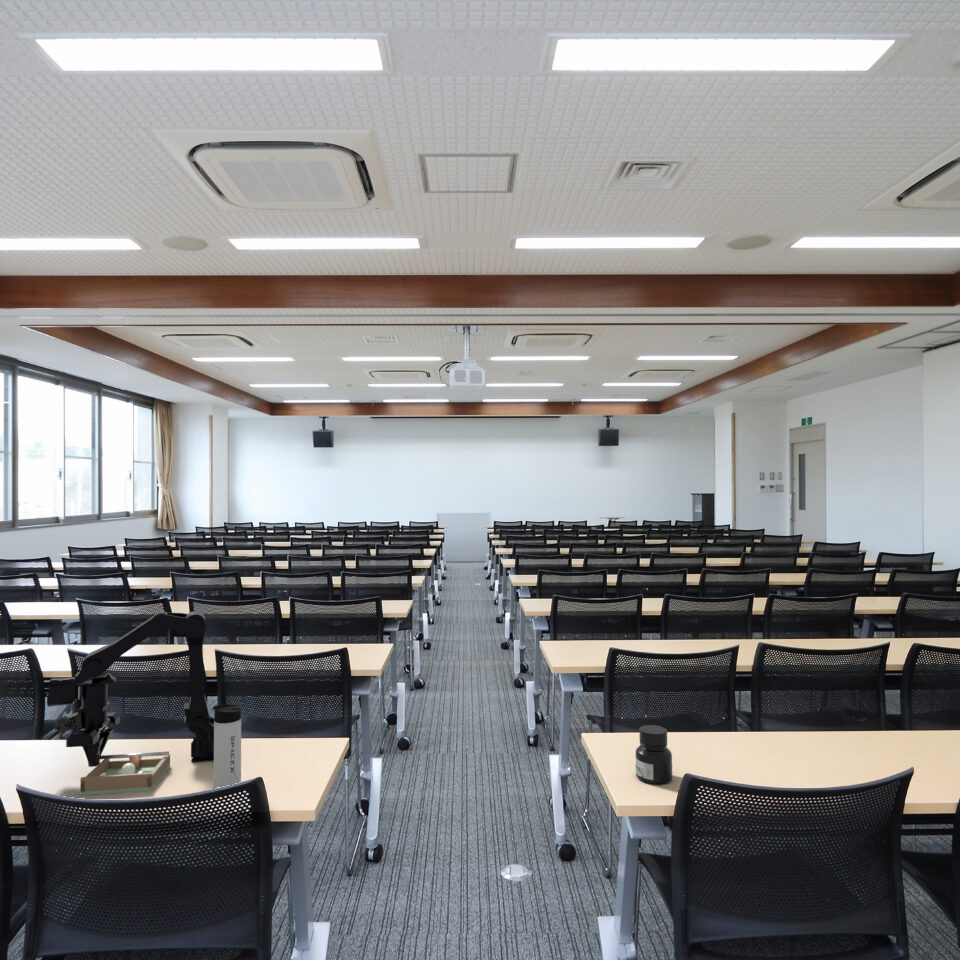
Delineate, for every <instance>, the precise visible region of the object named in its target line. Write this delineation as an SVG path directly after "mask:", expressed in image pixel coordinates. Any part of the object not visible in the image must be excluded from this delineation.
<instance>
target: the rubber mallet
mask: <svg viewBox="0 0 960 960" xmlns="http://www.w3.org/2000/svg"><path fill="white" fill-rule="evenodd" d="M169 754H170V751H156V752H152V751H151V752H138V753H122V754H120V753H119V754H106V755H105V754H104V755H102V754H101V756H100V750H99V753H98V755H97V758H96V761H95V763H94V765H89V763H88V762H87V764H88V766H87V767H89V768H93V767H94V768H95V767H96V766H97V765H99V764H100V763H101V760H104V759H110V760H112V759H113V760H114V759H127V758H128V760H129V763H132V764H134V766H135V768H140V767H141V759H142V758H143V757H159V756H160V757H161V756H165V755H169Z"/></svg>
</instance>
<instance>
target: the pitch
mask: <svg viewBox="0 0 960 960" xmlns="http://www.w3.org/2000/svg"><path fill="white" fill-rule="evenodd" d="M127 763H129V759H124V760H123V759H122V760H111V759H102V761H100V764H99V765H97V766H95V767H94V768H93V769H92V770H91V771H90V772H89V773H87V774H86V776H81V777H80V784H79V786H80V792H79V793H80V794H79V795H80V796H90V795H91V796H92V795H102V794H103V795H106V794H120V792H122V793H131V792H132V793H136V792H148V791H152V790H153V789H154V787H155V786H156V785H157V784H158V782H159V781H160V780H161V778H162V777H163V776H164V775H165V774H166V772H167V771H168V770H169V769H170V767H171V753H169V755H163V757H157V758H155V757H153V758H141V767H140V768H135V772H134V773H133V774H122V773H121V769H122V767H123V766H124V765H125V764H127ZM117 792H118V793H117Z"/></svg>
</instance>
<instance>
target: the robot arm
mask: <svg viewBox="0 0 960 960" xmlns="http://www.w3.org/2000/svg"><path fill="white" fill-rule="evenodd" d="M161 629H167V630H172V631H177V632H178V631H179V632H184V636H185V640H186V644H187V648H188V665H189V666H188V667H189V685H190V686H189V687H190V688H189V690H190V698H189V702H184V703H183V704H184V705H183V707H184V708H183V712H184V714H185V715H184V725H187V729H188V730H189V731H190V732H191V733H192V734H194V735H193V737H192V741H191V742H190V758H191V760H190V762H191V763H196V762H197V763H198V762H200V763H201V762H212V761H213V762H214V718H215V717H213V716H211V714H210V710H209V706H208V705H209V704H208V702H207V698H206V694H205V669H204V649H203V645H204V640H205V635H206V629H207V621H206V617H205V615H204V614H203V613H202V612H200V611H190V612H188V613H185V612H167V611H163V610H161V611H158V612H155V613H154V615H153V616H151V617H150V618H148V619H147V620H146V621H144V622H141V624H139V625H138V626H137V627H135V628H134V629H132V630H131V631H129V632H127V633H126V634H124V635H123V636H121V637H120V638H118V639H117V640H115V641H114V642H113V641H112V642H111V643H109V644H107V645H103V646H102V647H100V648H97V649H95V650H93V651H92V652H91V651H90V653H88V654H87V655H86V656H85V657H84V659H83V661H82V662H81V666H80V667H81V669H80V670H79V671H77V672H76V674H75V676H73V677H63V678H62V677H61V678H58V677H54V678H51V679H50V680H49V681H48V682H49V686H48V689H47V690H48V691H47V694H46V704H47V707H50V708H52V707H59V706H69V705H74V704H75V702H76V701H77V700H80V697H81V707H80V708H78V710H77V712H74V713H72V714H70V715H63V717H59V718H57V719H56V722H55V727H54V730H55V731H57V732H59V734H60V735H63V734H65V733H66V732H68V731H71V730H74V729H76V730H75V731H74V732H72V733H71V734H69V736H68V737H66V739H65V747H67V748H74V747H75V748H77V747H80V748H82V750H83V751H84V755H85V757H86V759H87V764H88V763H89V765H94V763H95V761H96V758H97V755H98V753H99V750H100V756H102V754H103V752H104V749H105V747H106V745H107V744H108V741H109V739H110V737H111V735H112V733H113V732H114V728H108V727H109V726H108V724H113V726H117V725H119V723H121V715H120V714H119V712H116V711H115V712H114V711H113V712H111V711H110V712H108V708H109V707H110V706H111V702H110V701H108V685H109V684H110V685H111V684H115V682H116V681H117V677H115V676H113V675H112V674H111V673H110V672H107V670H108V669H109V668H110V667H111V666H112V665H114V663H115V662H117V660H118V659H120V657H121V656H122V655H124V654H125V653H127V652H128V651H130V650H131V649H133V648H134V647H136V646H138V645H139V644H140V643H141V642H143V641H144V640H146V639H148V638H149V637H151V636H152V635H153V634H154V633H156V632H158V631H159V630H161ZM105 672H107V674H106V675H104V676H102V675H103V674H104V673H105ZM90 678H92V679H91V680H89V679H90ZM81 689H82V690H81ZM81 692H82V693H81Z"/></svg>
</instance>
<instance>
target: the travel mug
mask: <svg viewBox="0 0 960 960" xmlns="http://www.w3.org/2000/svg"><path fill="white" fill-rule="evenodd" d="M212 711H214V713H213V714H214V717H213V718H214V761H213V789H214V788H217V787H223V786H227V785H232V784H235V783H239V782H241V783H242V709H241V706H239V705H236V704H214V706H213V707H212Z"/></svg>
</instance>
